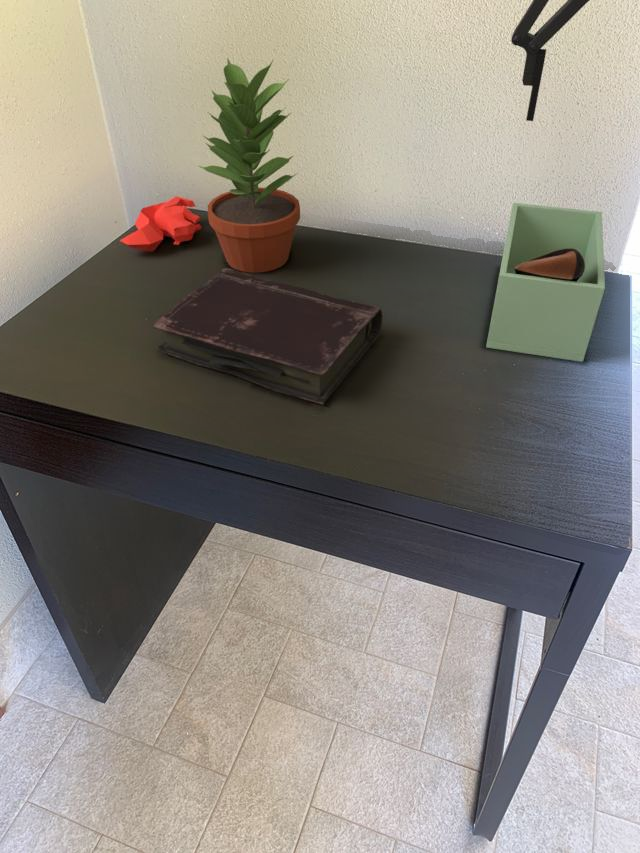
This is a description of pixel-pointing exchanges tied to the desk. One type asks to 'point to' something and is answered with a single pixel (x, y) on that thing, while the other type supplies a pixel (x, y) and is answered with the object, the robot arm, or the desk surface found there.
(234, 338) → the diary
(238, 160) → the potted plant
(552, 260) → the sunglasses case
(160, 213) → the animal figurine
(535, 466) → the desk surface
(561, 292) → the green open box
